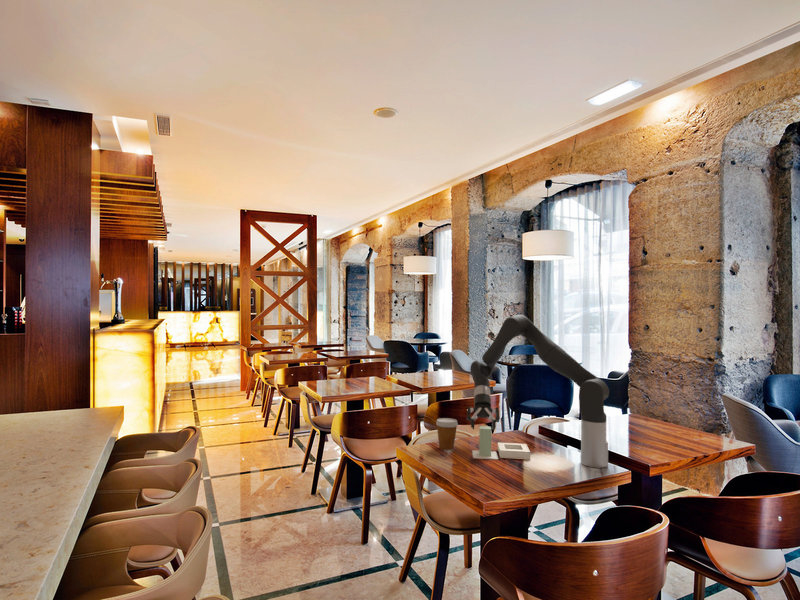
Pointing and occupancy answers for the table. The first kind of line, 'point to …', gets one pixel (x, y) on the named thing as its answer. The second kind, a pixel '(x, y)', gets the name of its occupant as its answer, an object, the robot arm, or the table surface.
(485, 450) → the sage block
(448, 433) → the disposable coffee cup
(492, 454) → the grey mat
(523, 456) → the pocket holder
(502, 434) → the table surface
